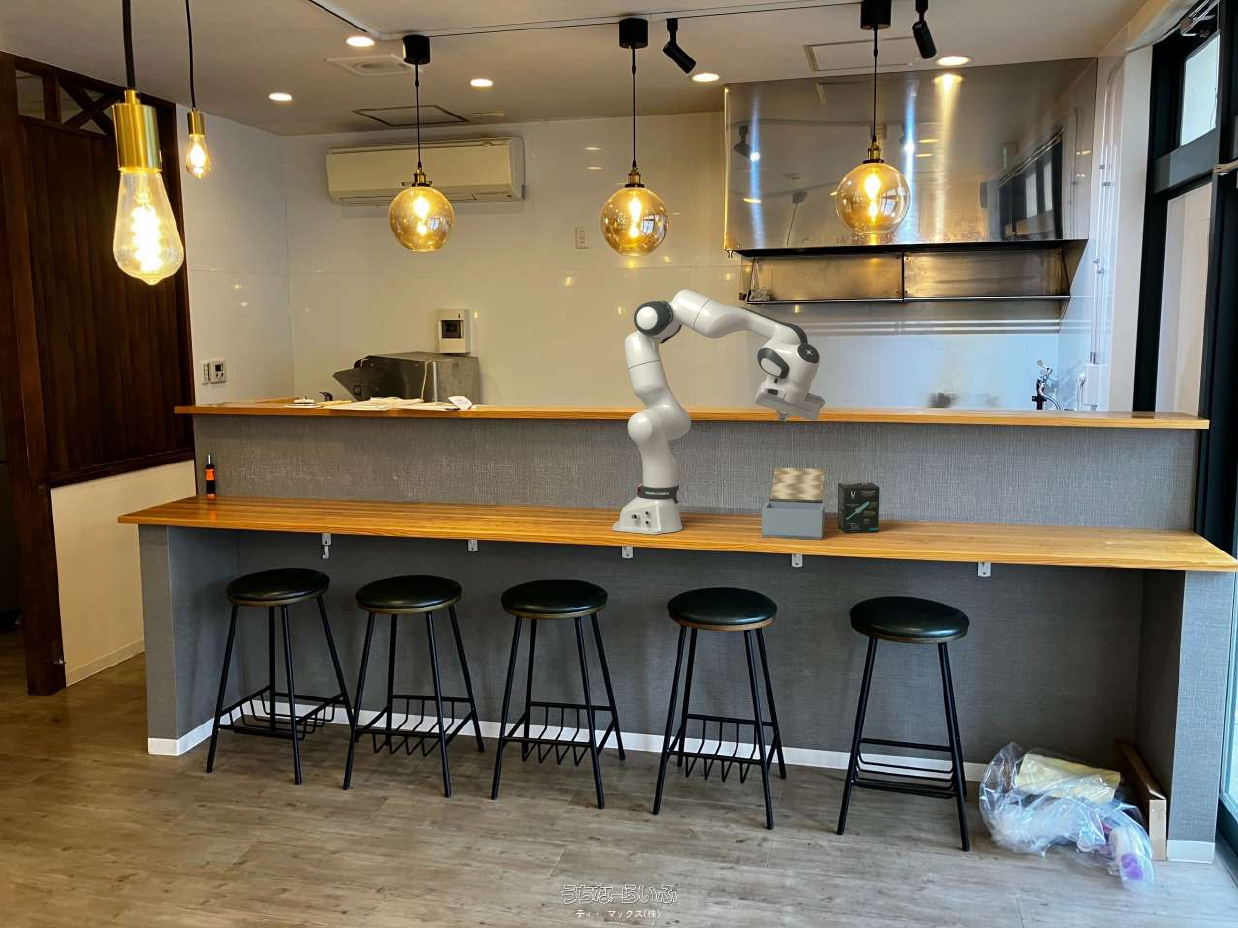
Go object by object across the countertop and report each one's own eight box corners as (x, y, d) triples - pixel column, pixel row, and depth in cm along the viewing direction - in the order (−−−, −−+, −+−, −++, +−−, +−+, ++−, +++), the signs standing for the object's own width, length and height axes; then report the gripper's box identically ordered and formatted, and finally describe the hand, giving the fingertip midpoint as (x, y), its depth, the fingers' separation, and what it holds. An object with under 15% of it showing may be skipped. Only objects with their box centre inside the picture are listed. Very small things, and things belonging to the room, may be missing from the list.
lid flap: (769, 499, 302) (774, 467, 315) (769, 502, 303) (774, 469, 316) (822, 501, 298) (826, 468, 311) (822, 504, 298) (826, 471, 311)
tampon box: (870, 526, 306) (871, 481, 304) (879, 532, 297) (880, 486, 294) (836, 527, 305) (837, 482, 303) (844, 533, 296) (845, 487, 294)
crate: (761, 537, 292) (762, 508, 291) (766, 529, 304) (766, 501, 302) (821, 540, 287) (822, 510, 286) (824, 531, 299) (824, 503, 298)
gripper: (828, 391, 290) (814, 421, 301) (763, 372, 291) (752, 402, 302) (825, 406, 286) (812, 435, 297) (759, 386, 287) (748, 416, 298)
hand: (781, 418), depth 299 cm, fingers closed
